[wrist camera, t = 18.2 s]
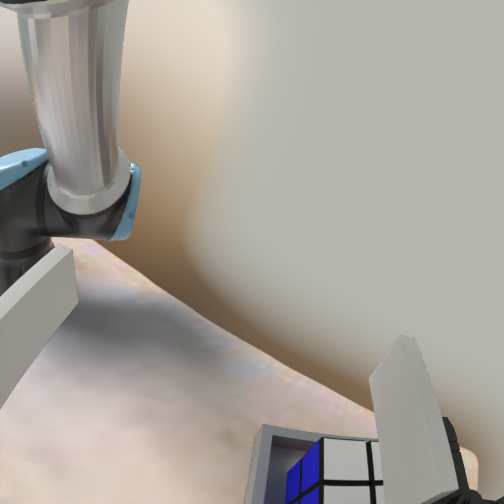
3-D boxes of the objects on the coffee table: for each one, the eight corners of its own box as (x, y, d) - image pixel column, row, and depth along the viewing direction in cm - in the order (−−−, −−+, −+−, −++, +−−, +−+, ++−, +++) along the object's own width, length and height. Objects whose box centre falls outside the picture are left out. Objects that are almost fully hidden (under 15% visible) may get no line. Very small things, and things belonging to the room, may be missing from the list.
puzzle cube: (286, 470, 29) (320, 434, 24) (362, 475, 29) (408, 439, 24) (279, 545, 20) (318, 534, 15) (365, 543, 20) (421, 523, 15)
